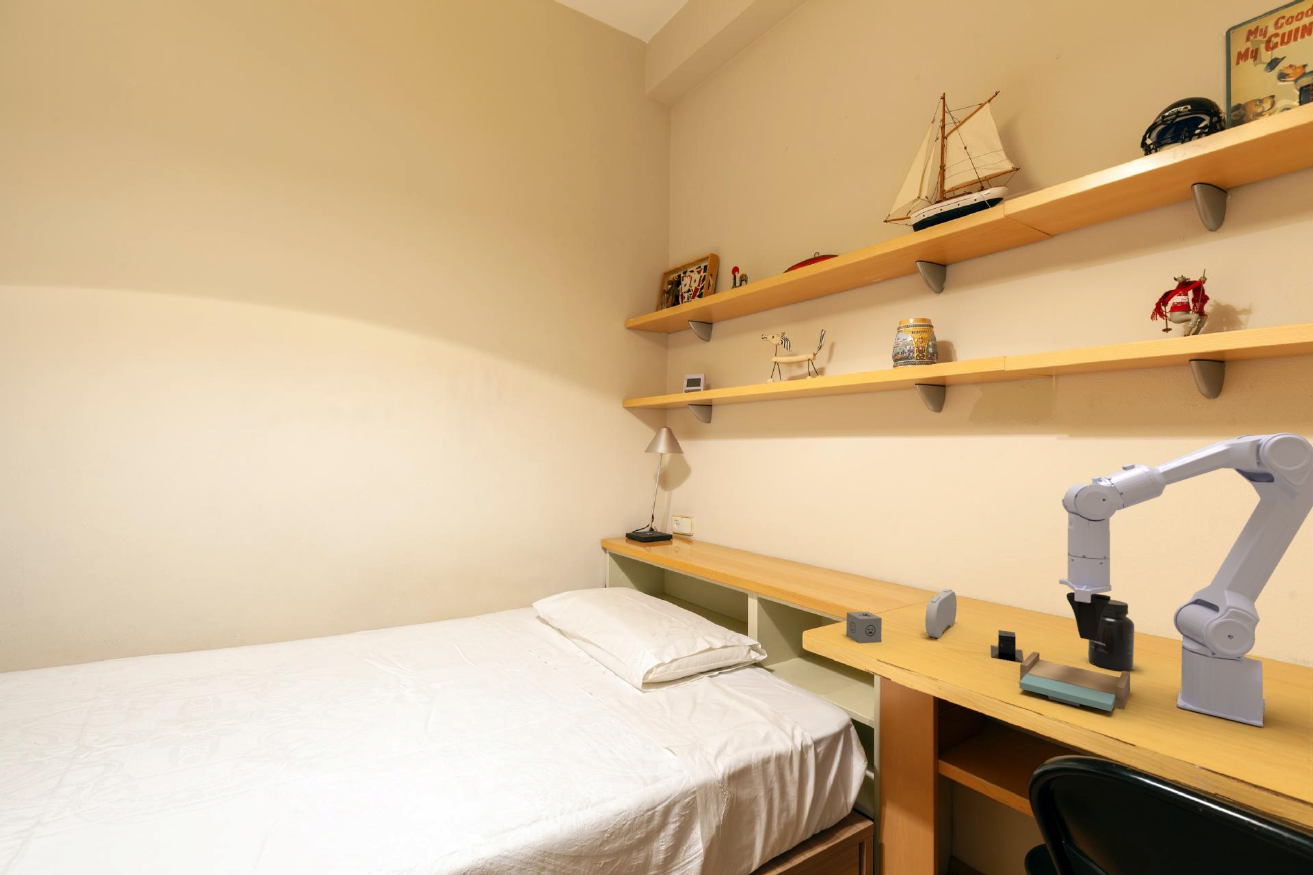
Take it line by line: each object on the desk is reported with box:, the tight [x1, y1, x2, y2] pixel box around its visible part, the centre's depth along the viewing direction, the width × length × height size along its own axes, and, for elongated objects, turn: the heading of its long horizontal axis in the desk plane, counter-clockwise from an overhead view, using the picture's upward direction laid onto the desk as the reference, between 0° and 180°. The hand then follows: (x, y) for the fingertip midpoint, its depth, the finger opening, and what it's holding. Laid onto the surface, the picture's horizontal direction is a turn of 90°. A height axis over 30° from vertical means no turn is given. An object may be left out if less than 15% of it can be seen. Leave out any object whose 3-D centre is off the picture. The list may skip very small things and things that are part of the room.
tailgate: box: [1018, 674, 1115, 712], centre depth 95 cm, size 12×2×5 cm
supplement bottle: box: [1087, 599, 1135, 672], centre depth 113 cm, size 7×7×12 cm
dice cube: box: [845, 611, 883, 644], centre depth 125 cm, size 5×5×5 cm
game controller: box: [924, 588, 958, 639], centre depth 133 cm, size 20×2×8 cm, turn 142°
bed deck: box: [1019, 651, 1131, 710], centre depth 101 cm, size 14×10×3 cm
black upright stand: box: [990, 629, 1025, 664], centre depth 118 cm, size 12×7×5 cm, turn 151°
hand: (1088, 638), depth 99 cm, fingers closed
